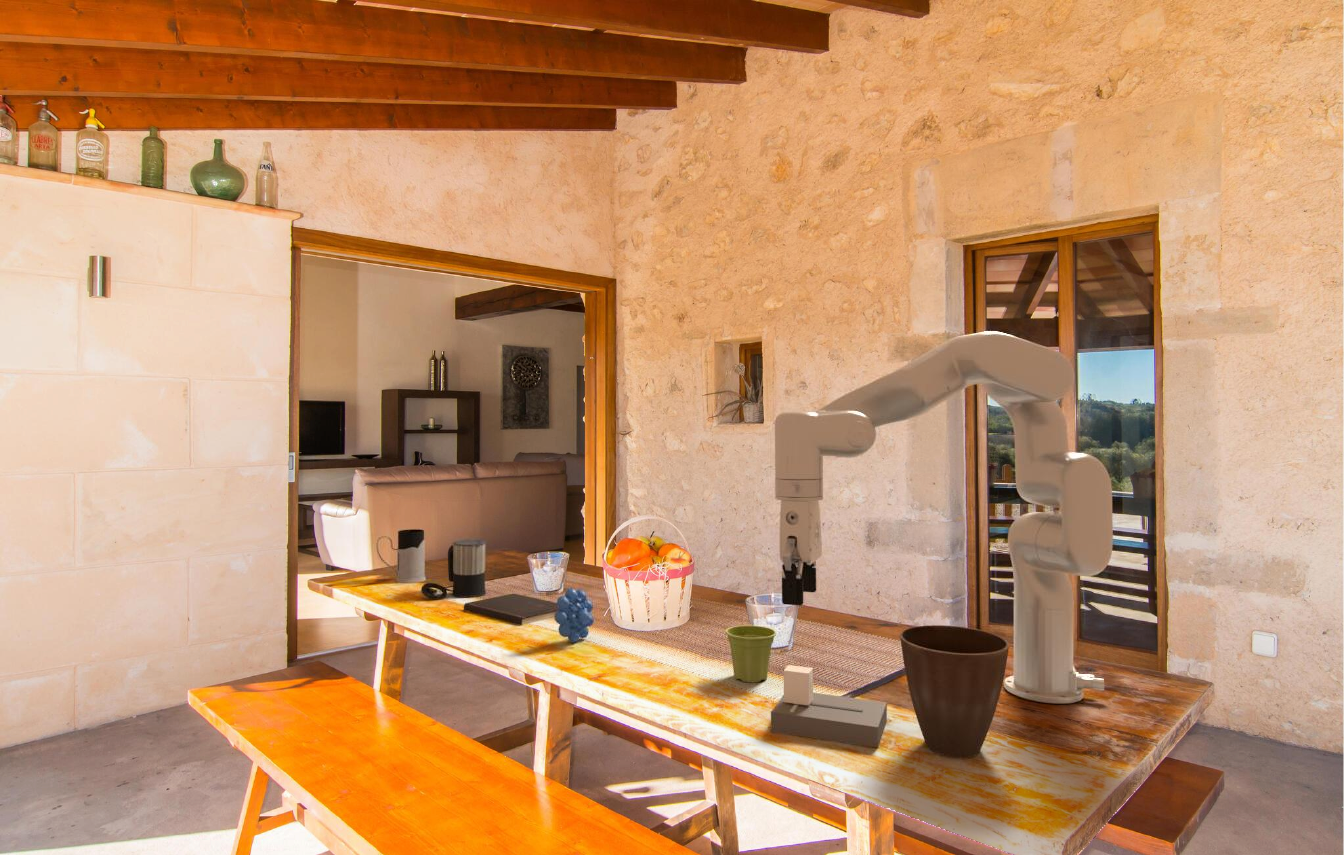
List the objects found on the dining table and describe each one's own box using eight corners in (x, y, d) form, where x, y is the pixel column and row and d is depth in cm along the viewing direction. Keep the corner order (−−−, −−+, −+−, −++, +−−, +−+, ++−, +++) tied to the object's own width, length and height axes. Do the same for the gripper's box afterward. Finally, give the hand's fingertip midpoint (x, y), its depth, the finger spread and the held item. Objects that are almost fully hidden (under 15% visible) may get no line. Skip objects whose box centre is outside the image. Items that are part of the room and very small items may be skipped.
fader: (812, 699, 123) (812, 667, 123) (808, 705, 120) (809, 673, 120) (788, 695, 124) (788, 664, 124) (783, 702, 122) (783, 670, 122)
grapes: (570, 651, 160) (570, 594, 160) (547, 646, 164) (547, 590, 164) (607, 639, 169) (607, 584, 169) (584, 634, 173) (584, 581, 173)
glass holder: (426, 582, 232) (426, 532, 232) (375, 585, 227) (375, 534, 227) (426, 576, 240) (426, 528, 240) (377, 579, 235) (377, 530, 235)
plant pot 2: (1029, 768, 106) (1030, 651, 106) (924, 772, 104) (924, 654, 104) (977, 726, 121) (978, 624, 121) (884, 729, 119) (885, 625, 119)
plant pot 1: (724, 669, 149) (724, 624, 149) (773, 670, 148) (773, 624, 148) (726, 685, 139) (726, 637, 139) (778, 686, 139) (778, 638, 139)
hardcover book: (513, 601, 208) (513, 593, 208) (571, 615, 194) (571, 606, 194) (463, 612, 196) (463, 603, 196) (521, 627, 181) (521, 618, 181)
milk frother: (493, 593, 217) (493, 540, 217) (455, 604, 203) (455, 548, 203) (453, 588, 223) (453, 537, 223) (413, 599, 209) (414, 544, 209)
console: (886, 721, 123) (886, 701, 123) (878, 747, 112) (878, 726, 112) (787, 707, 129) (787, 688, 129) (770, 731, 118) (770, 711, 118)
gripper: (811, 495, 113) (812, 612, 113) (832, 486, 129) (833, 588, 129) (761, 493, 116) (762, 608, 116) (788, 485, 132) (789, 585, 132)
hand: (799, 597), depth 122 cm, fingers open, 9 cm apart
